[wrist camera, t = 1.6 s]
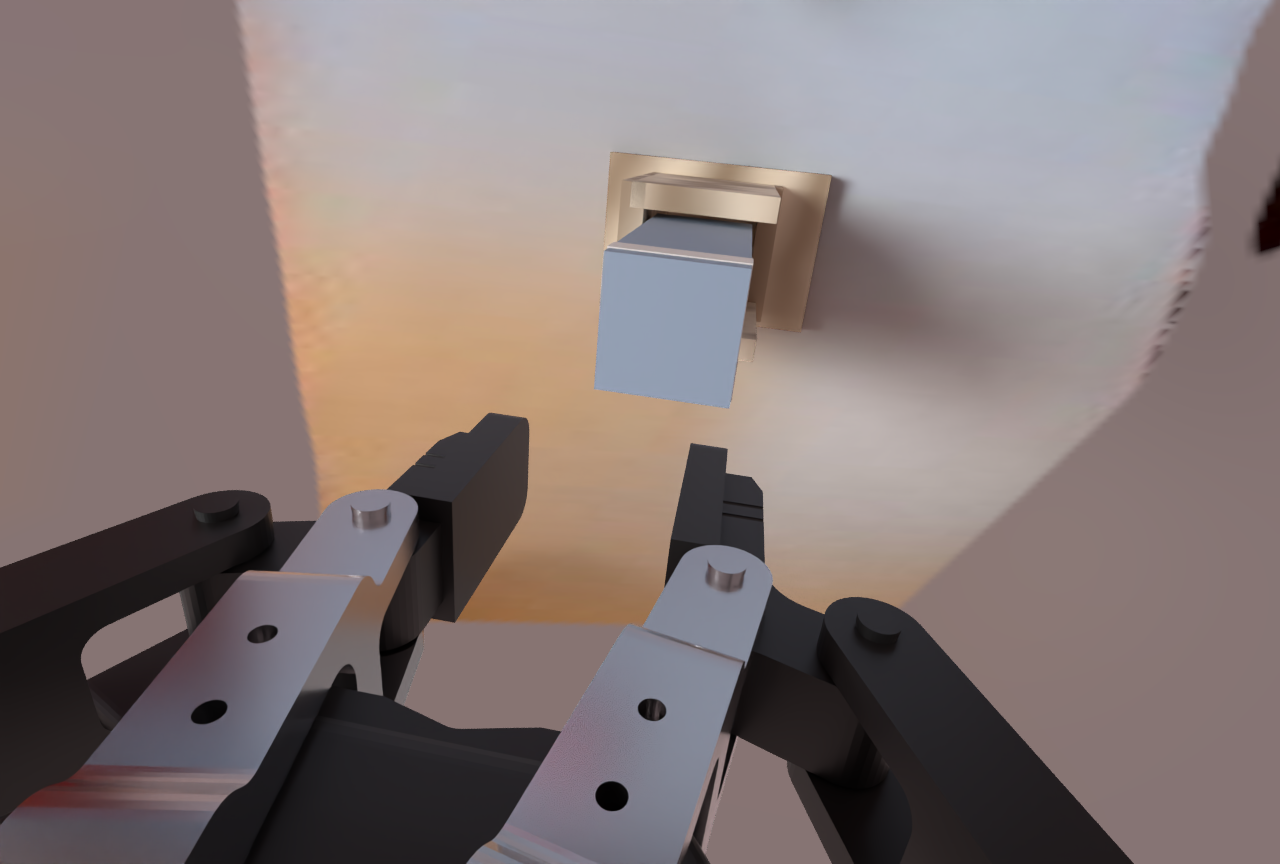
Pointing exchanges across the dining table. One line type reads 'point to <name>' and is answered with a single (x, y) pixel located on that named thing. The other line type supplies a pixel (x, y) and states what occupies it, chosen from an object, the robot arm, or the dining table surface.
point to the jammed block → (674, 309)
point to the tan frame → (734, 193)
